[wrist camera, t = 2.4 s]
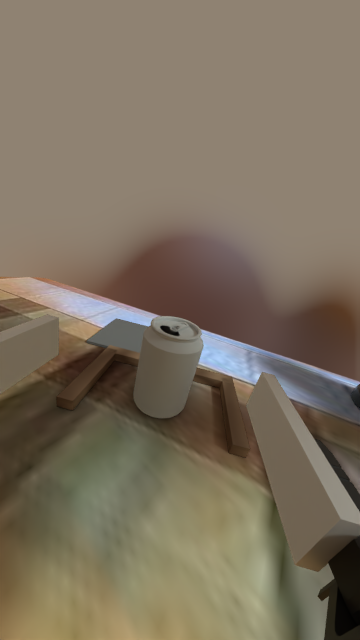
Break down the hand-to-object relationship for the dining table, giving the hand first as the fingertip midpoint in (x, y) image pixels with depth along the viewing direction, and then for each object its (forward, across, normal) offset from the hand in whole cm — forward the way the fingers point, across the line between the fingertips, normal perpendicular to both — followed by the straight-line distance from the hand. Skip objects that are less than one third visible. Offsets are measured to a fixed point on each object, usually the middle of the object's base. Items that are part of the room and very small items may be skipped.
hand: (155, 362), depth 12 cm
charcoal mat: (+26, -10, -13) cm, 31 cm away
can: (+10, 0, -13) cm, 17 cm away
